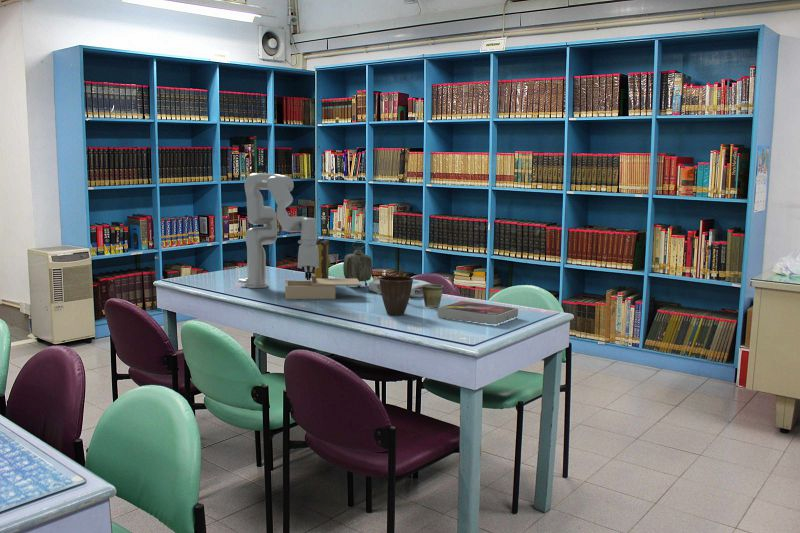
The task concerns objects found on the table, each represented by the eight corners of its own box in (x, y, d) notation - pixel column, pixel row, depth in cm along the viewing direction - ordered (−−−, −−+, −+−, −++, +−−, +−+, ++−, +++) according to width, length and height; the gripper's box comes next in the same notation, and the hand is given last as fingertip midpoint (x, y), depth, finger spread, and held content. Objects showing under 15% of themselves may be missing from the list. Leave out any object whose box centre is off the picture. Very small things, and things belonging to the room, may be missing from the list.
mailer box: (285, 299, 342) (285, 286, 341) (285, 293, 360) (285, 280, 359) (335, 299, 346) (335, 286, 345) (332, 293, 364) (332, 280, 363)
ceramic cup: (439, 309, 328) (439, 288, 327) (418, 307, 332) (419, 286, 330) (447, 304, 340) (447, 284, 339) (427, 302, 344) (428, 282, 342)
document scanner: (410, 299, 354) (410, 286, 353) (367, 292, 371) (368, 280, 370) (434, 294, 370) (435, 282, 369) (393, 287, 387) (393, 276, 387)
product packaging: (495, 327, 294) (496, 316, 294) (437, 318, 310) (437, 307, 309) (517, 319, 312) (518, 308, 311) (461, 311, 328) (461, 300, 327)
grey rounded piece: (368, 285, 391) (369, 240, 388) (373, 288, 383) (374, 241, 379) (342, 286, 387) (343, 240, 383) (347, 288, 378) (347, 242, 375)
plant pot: (371, 313, 314) (372, 277, 312) (394, 309, 325) (395, 274, 323) (396, 318, 304) (397, 282, 302) (418, 314, 315) (420, 278, 313)
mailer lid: (311, 285, 343) (311, 278, 343) (310, 280, 361) (310, 273, 360) (360, 285, 347) (360, 278, 347) (357, 280, 365) (357, 273, 364)
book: (326, 290, 372) (326, 242, 369) (309, 289, 373) (310, 242, 369) (330, 283, 394) (331, 238, 391) (315, 283, 394) (316, 238, 391)
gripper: (293, 243, 344) (293, 281, 347) (324, 243, 347) (323, 281, 349) (293, 242, 352) (292, 278, 354) (323, 242, 354) (323, 278, 357)
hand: (308, 279), depth 352 cm, fingers closed
